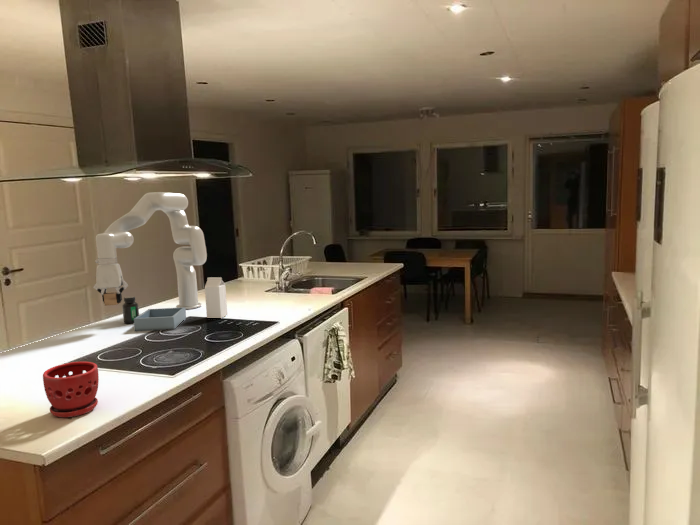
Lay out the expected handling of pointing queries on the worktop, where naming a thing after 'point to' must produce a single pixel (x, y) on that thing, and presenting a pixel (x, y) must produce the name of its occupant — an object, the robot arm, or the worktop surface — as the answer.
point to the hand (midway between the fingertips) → (112, 302)
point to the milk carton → (215, 297)
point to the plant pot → (71, 388)
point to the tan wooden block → (110, 298)
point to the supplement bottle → (130, 310)
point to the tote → (159, 319)
